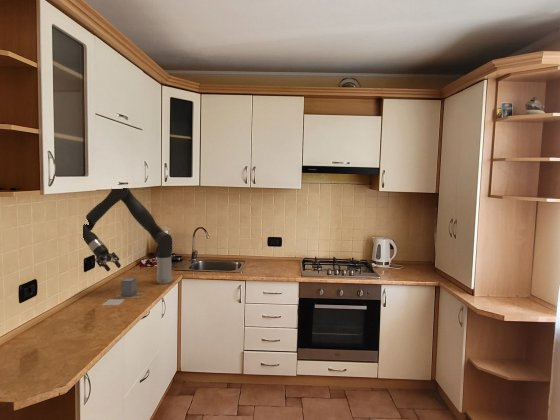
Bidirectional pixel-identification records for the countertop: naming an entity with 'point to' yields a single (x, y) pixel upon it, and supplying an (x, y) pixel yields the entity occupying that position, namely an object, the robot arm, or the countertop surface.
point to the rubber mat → (113, 302)
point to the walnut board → (129, 297)
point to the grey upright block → (128, 287)
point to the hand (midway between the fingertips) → (114, 268)
